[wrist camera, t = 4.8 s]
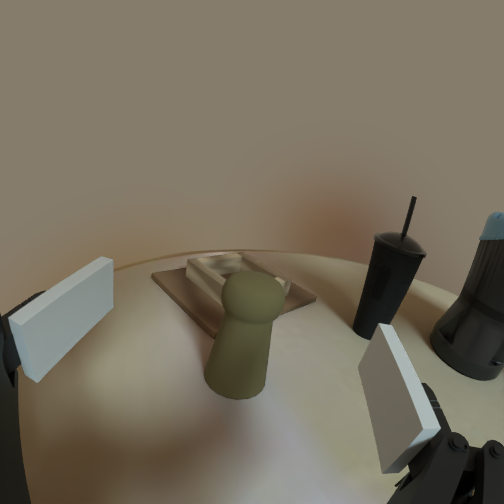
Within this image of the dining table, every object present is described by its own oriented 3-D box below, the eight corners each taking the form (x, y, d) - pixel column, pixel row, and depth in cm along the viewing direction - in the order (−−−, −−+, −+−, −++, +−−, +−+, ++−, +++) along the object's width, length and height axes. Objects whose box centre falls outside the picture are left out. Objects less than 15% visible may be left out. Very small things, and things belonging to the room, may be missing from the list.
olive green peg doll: (196, 360, 28) (209, 261, 25) (250, 354, 31) (272, 262, 27) (215, 404, 23) (236, 298, 20) (275, 392, 26) (308, 294, 22)
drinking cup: (397, 348, 36) (451, 210, 30) (350, 343, 36) (402, 193, 30) (381, 320, 44) (423, 199, 37) (339, 314, 43) (379, 184, 37)
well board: (248, 261, 57) (252, 244, 55) (315, 301, 46) (321, 281, 45) (151, 277, 43) (153, 256, 42) (214, 338, 32) (218, 313, 31)
